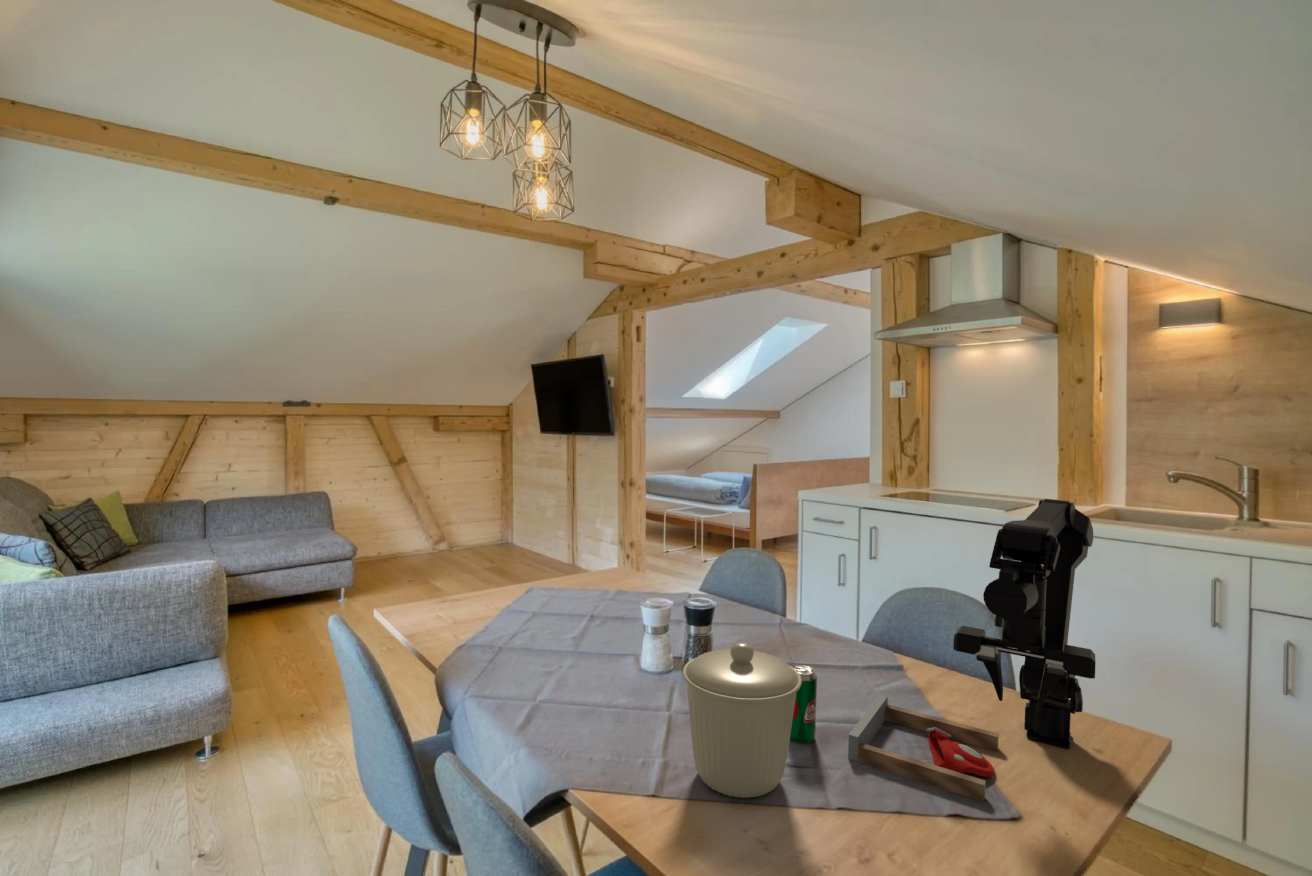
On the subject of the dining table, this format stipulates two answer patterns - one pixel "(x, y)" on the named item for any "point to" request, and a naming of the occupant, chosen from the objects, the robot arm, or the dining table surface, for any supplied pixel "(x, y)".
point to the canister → (740, 718)
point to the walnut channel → (925, 770)
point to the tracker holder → (957, 755)
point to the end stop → (867, 726)
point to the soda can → (805, 706)
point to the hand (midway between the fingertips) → (1019, 704)
